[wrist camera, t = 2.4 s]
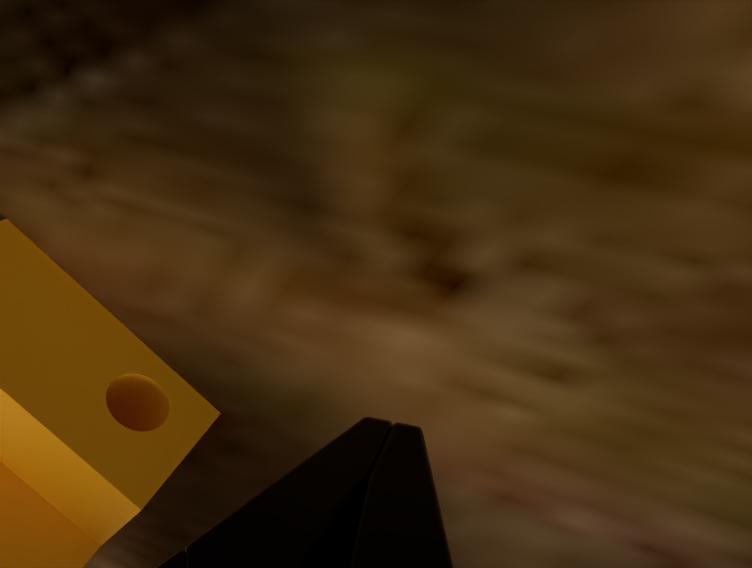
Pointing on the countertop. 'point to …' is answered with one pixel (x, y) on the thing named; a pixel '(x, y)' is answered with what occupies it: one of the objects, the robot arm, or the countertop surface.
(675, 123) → the countertop surface
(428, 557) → the robot arm
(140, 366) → the pipe clamp
